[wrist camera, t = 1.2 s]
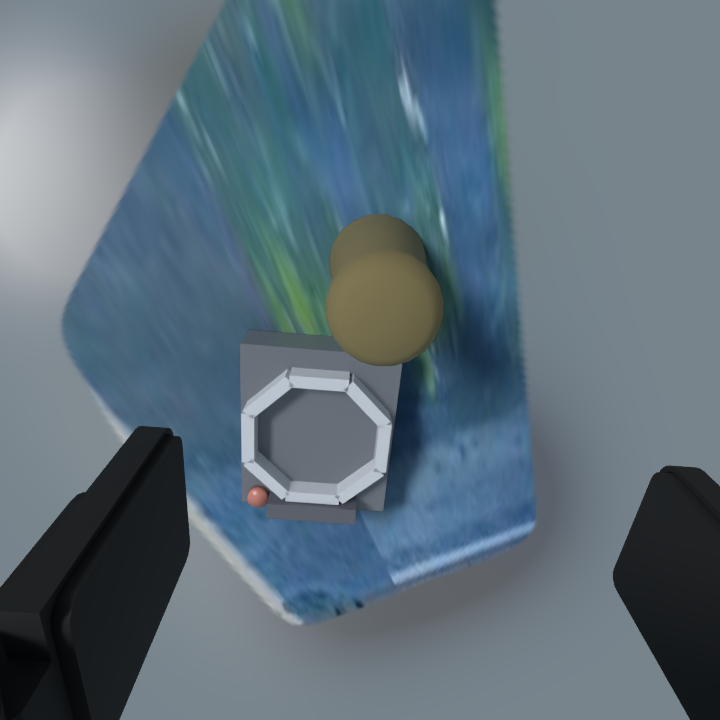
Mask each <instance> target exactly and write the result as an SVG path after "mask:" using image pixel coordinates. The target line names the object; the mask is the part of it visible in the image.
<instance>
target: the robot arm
mask: <svg viewBox="0 0 720 720" xmlns="http://www.w3.org/2000/svg"><path fill="white" fill-rule="evenodd" d="M189 547H190V536H189V523H188V511H187V498H186V485H185V472H184V459H183V447H182V440H181V437H179V436H173V432H172V430H171V429H170V428H161V427H148V426H139V427H137V428H136V429H135V430H134V432H133V433H132V434H131V435H130V437H129V438H128V439H127V441H126V442H125V443H124V444H123V446H122V447H121V448H120V449H119V451H118V452H117V453H116V454H115V456H114V457H113V458H112V460H111V461H110V462H109V464H108V465H107V466H106V467H105V468H104V470H103V471H102V472H101V473H100V475H99V476H98V477H97V478H96V480H95V481H94V482H93V483H92V485H91V486H90V487H89V488H88V490H87V491H86V492H83V493H81V494H78V495H77V496H76V497H75V498H74V499H72V500H71V501H70V503H69V504H68V505H67V506H66V508H65V509H64V510H63V511H62V512H61V514H60V515H59V516H58V517H57V519H56V520H55V521H54V523H52V525H51V526H50V527H49V528H48V530H47V531H46V532H45V533H44V535H43V536H42V537H41V538H40V539H39V541H38V542H37V543H36V544H35V546H34V547H33V548H32V549H31V551H30V552H29V553H28V554H27V555H26V557H25V558H24V559H23V561H22V562H21V563H20V564H19V565H18V567H17V568H16V569H15V570H14V571H13V573H12V574H11V575H10V576H9V578H8V579H7V580H6V581H5V582H4V584H3V585H2V586H1V587H0V720H119V719H120V717H121V715H122V712H123V710H124V707H125V705H126V703H127V700H128V698H129V695H130V693H131V691H132V688H133V686H134V683H135V681H136V679H137V676H138V674H139V672H140V669H141V667H142V664H143V662H144V660H145V657H146V655H147V652H148V650H149V648H150V646H151V643H152V641H153V639H154V636H155V634H156V631H157V629H158V627H159V624H160V622H161V620H162V617H163V615H164V612H165V610H166V608H167V605H168V603H169V601H170V598H171V596H172V593H173V591H174V589H175V586H176V584H177V582H178V579H179V577H180V574H181V572H182V569H183V567H184V565H185V563H186V560H187V557H188V553H189ZM613 581H614V585H615V588H616V590H617V592H618V594H619V595H620V597H621V599H622V601H623V602H624V604H625V606H626V608H627V609H628V611H629V613H630V615H631V616H632V618H633V620H634V622H635V623H636V625H637V627H638V629H639V631H640V632H641V634H642V636H643V638H644V639H645V641H646V643H647V645H648V646H649V648H650V650H651V652H652V653H653V655H654V657H655V659H656V660H657V662H658V664H659V666H660V667H661V669H662V671H663V673H664V674H665V676H666V678H667V680H668V682H669V683H670V685H671V687H672V688H673V690H674V692H675V694H676V695H677V697H678V699H679V700H680V702H681V704H682V706H683V708H684V709H685V711H686V713H687V715H688V717H689V718H690V720H720V486H719V485H718V484H717V483H716V482H715V481H714V480H712V478H710V477H709V476H708V475H707V474H706V473H705V472H704V471H703V470H701V469H699V468H694V467H682V466H665V467H664V468H662V469H661V470H660V472H658V473H655V474H654V475H653V477H652V478H651V481H650V483H649V485H648V488H647V490H646V493H645V495H644V498H643V500H642V502H641V505H640V507H639V510H638V512H637V514H636V517H635V519H634V522H633V524H632V526H631V529H630V531H629V534H628V536H627V539H626V541H625V543H624V546H623V548H622V551H621V553H620V555H619V558H618V560H617V563H616V565H615V568H614V571H613Z"/></svg>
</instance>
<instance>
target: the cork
mask: <svg viewBox="0 0 720 720" xmlns="http://www.w3.org/2000/svg"><path fill="white" fill-rule="evenodd" d="M330 274H331V277H332V283H331V286H330V289H329V293H328V296H327V300H326V320H327V322H328V325H329V328H330V330H331V333H332V336H333V337H334V339H335V340H336V341H337V343H338V344H339V345H340V346H341V348H342V349H343V350H344V351H345V352H346V353H347V354H349V355H350V356H352V357H353V358H355V359H356V360H358V361H360V362H363V363H366V364H370V365H373V366H395V365H399V364H402V363H405V362H408V361H411V360H412V359H414V358H415V357H417V356H418V355H420V354H421V353H423V352H424V351H425V350H426V349H427V348H428V346H429V345H430V344H431V343H432V342H433V340H434V339H435V338H436V335H437V333H438V330H439V327H440V325H441V322H442V319H443V304H444V300H443V297H442V293H441V289H440V286H439V283H438V281H437V280H436V279H435V277H434V276H433V274H432V273H431V271H430V270H429V268H428V267H427V266H426V254H425V250H424V247H423V243H422V241H421V239H420V238H419V236H418V235H417V233H416V232H415V231H414V229H413V228H412V227H410V226H409V225H408V224H406V223H405V222H404V221H402V220H401V219H398V218H395V217H392V216H389V215H368V216H365V217H362V218H359V219H357V220H354V221H353V222H352V223H351V224H349V225H348V226H347V227H345V228H344V229H343V230H342V231H341V233H340V234H339V236H338V237H337V239H336V240H335V242H334V244H333V247H332V251H331V254H330Z"/></svg>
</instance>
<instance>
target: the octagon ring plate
mask: <svg viewBox="0 0 720 720" xmlns="http://www.w3.org/2000/svg"><path fill="white" fill-rule="evenodd" d="M401 371H402V364H399V365H395V366H373V365H370V364H366V363H363V362H360V361H358V360H356V359H355V358H353V357H352V356H350V355H349V354H347V353H346V352H345V351H344V350H343V349H342V348H341V346H340V345H339V344H338V343H337V341H336V340H335V339H334V337H330V336H318V335H306V334H294V333H281V332H269V331H257V330H248V332H247V334H246V335H245V337H244V338H243V340H242V341H241V343H240V380H241V459H242V502H249V504H250V505H252V506H254V507H263V506H265V505H266V503H267V518H270V519H284V520H299V521H313V522H327V523H342V524H355V516H356V510H370V511H383V507H384V499H385V492H386V484H387V477H388V469H389V462H390V454H391V446H392V439H393V431H394V424H395V416H396V409H397V401H398V393H399V386H400V378H401Z"/></svg>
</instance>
